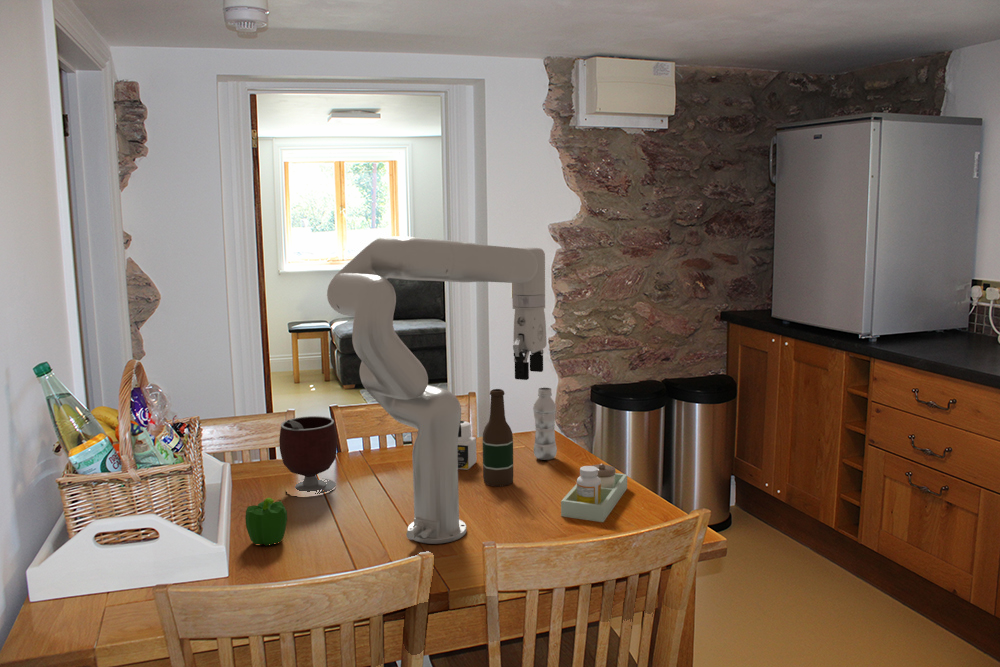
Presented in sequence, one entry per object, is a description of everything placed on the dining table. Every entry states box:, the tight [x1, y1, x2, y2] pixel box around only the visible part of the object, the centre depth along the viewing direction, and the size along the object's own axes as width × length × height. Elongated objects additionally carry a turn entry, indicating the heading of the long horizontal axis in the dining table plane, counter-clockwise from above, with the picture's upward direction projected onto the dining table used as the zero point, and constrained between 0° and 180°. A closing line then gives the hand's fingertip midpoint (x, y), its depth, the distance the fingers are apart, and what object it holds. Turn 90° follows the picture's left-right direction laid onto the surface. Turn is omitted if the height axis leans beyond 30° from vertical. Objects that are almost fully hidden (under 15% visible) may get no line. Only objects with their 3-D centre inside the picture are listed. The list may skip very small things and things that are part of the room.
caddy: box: [560, 472, 628, 523], centre depth 175 cm, size 22×10×4 cm, turn 157°
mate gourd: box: [278, 415, 338, 494], centre depth 187 cm, size 16×14×20 cm
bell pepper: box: [244, 497, 288, 546], centre depth 157 cm, size 8×8×10 cm
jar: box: [592, 463, 616, 489], centre depth 180 cm, size 6×6×7 cm
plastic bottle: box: [532, 387, 558, 461], centre depth 209 cm, size 6×7×20 cm
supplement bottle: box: [576, 465, 601, 505], centre depth 170 cm, size 5×5×10 cm
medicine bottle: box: [458, 420, 478, 471], centre depth 206 cm, size 7×7×12 cm
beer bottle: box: [482, 388, 514, 488], centre depth 191 cm, size 8×8×24 cm
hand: (529, 375), depth 175 cm, fingers open, 9 cm apart
